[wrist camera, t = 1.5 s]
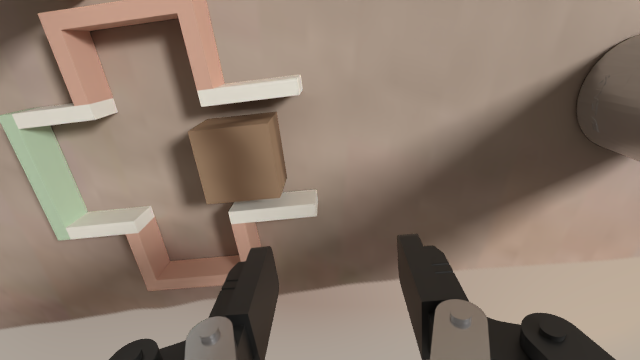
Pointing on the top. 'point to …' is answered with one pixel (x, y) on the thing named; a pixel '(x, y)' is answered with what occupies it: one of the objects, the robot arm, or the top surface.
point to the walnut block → (239, 158)
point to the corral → (96, 102)
